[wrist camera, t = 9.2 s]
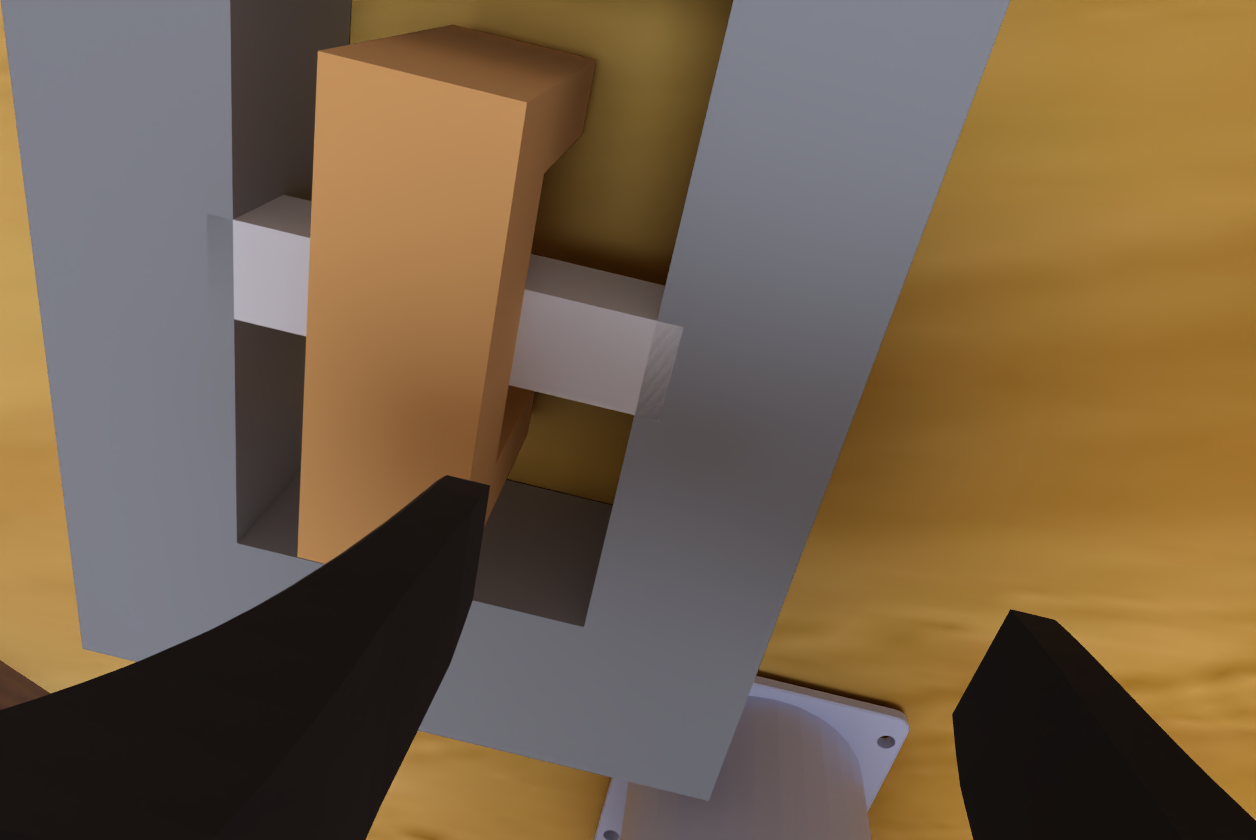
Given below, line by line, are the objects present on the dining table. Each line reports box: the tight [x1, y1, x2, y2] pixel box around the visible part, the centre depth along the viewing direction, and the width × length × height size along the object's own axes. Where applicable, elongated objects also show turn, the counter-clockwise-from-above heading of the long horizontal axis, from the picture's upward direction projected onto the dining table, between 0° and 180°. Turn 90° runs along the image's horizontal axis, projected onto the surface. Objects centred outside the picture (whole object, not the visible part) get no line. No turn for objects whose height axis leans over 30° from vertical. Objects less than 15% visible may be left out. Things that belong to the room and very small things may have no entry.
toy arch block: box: [297, 25, 596, 564], centre depth 17 cm, size 9×3×6 cm, turn 168°
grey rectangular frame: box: [1, 0, 1010, 801], centre depth 19 cm, size 22×16×5 cm
